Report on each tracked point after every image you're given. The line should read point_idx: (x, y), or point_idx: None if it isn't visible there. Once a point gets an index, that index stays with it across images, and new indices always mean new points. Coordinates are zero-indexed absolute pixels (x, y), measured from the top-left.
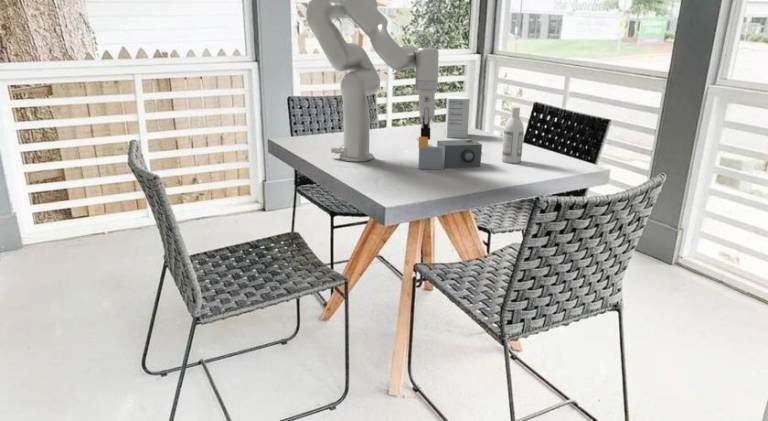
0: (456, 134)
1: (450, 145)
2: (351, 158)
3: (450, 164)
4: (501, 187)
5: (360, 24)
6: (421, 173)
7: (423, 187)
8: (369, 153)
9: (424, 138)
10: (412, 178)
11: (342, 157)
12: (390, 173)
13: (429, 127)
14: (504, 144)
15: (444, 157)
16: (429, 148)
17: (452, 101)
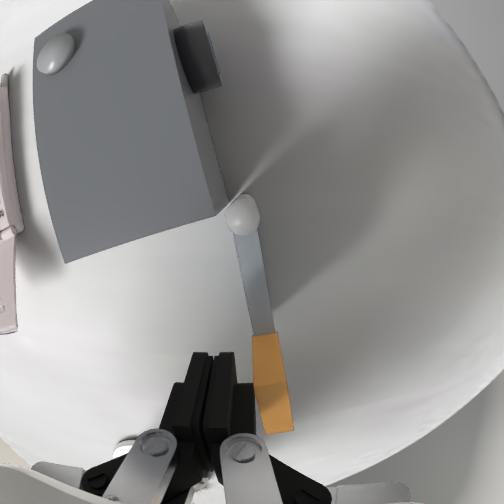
0: None
1: (197, 154)
2: (204, 482)
3: (216, 160)
4: (453, 36)
5: None
6: (337, 298)
7: (481, 277)
8: (128, 450)
9: (287, 397)
10: (402, 323)
11: (196, 490)
12: (335, 396)
13: (266, 446)
14: None
15: (248, 197)
16: (272, 317)
17: None
